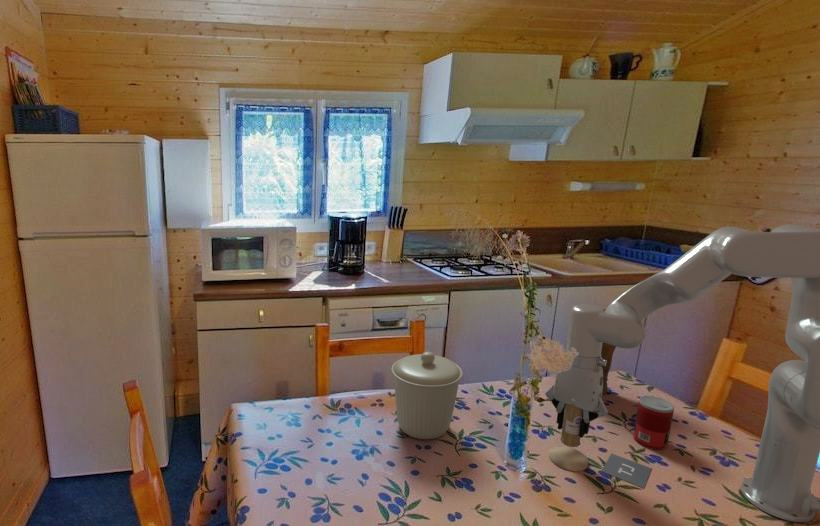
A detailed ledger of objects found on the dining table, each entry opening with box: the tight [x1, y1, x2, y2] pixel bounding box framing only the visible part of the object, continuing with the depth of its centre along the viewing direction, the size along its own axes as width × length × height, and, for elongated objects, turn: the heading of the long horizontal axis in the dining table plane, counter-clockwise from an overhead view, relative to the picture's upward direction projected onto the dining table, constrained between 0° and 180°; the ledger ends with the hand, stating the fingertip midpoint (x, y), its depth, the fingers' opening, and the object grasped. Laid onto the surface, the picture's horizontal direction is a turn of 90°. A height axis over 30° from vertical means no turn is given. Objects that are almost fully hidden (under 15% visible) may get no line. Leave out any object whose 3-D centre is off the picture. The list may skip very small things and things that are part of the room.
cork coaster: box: [548, 445, 589, 472], centre depth 112 cm, size 9×9×1 cm
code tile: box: [601, 452, 652, 489], centre depth 109 cm, size 9×9×1 cm
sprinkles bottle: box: [560, 399, 584, 448], centre depth 110 cm, size 5×5×13 cm
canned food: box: [633, 395, 675, 451], centre depth 120 cm, size 8×8×11 cm
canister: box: [390, 351, 464, 440], centre depth 120 cm, size 18×18×21 cm
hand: (571, 430), depth 111 cm, fingers closed on sprinkles bottle, 4 cm apart
